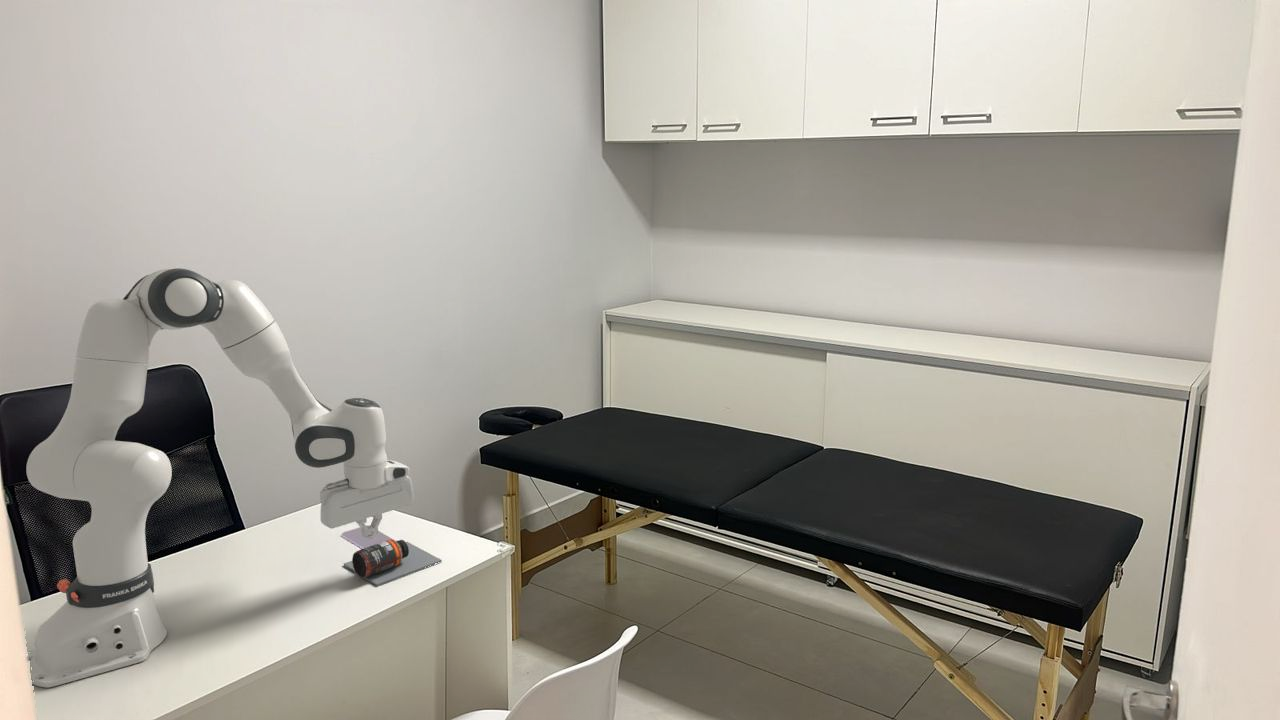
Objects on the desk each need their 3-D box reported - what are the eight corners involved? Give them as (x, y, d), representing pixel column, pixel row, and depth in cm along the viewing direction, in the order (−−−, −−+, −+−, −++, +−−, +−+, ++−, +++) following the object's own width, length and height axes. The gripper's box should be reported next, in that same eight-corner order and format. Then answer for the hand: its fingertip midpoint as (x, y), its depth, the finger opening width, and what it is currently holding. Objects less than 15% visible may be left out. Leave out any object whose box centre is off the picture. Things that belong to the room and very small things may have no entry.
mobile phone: (368, 523, 215) (401, 542, 205) (368, 527, 215) (401, 546, 205) (339, 532, 210) (371, 552, 199) (339, 536, 210) (371, 556, 200)
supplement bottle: (355, 579, 188) (400, 562, 197) (369, 578, 184) (414, 560, 193) (348, 552, 189) (393, 536, 197) (361, 550, 185) (407, 534, 193)
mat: (377, 586, 185) (377, 584, 184) (343, 565, 194) (343, 563, 194) (441, 562, 196) (441, 560, 196) (407, 543, 205) (407, 541, 205)
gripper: (327, 490, 177) (331, 554, 180) (416, 466, 191) (418, 525, 194) (312, 482, 181) (316, 545, 184) (400, 459, 195) (403, 518, 198)
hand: (370, 535), depth 189 cm, fingers closed
